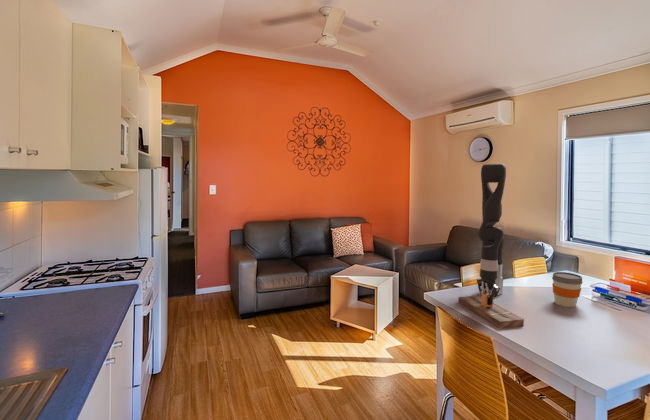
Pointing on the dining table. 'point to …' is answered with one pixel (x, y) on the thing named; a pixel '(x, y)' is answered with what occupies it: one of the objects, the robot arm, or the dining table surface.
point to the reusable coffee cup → (566, 288)
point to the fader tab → (485, 300)
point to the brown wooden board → (491, 312)
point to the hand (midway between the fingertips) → (487, 303)
